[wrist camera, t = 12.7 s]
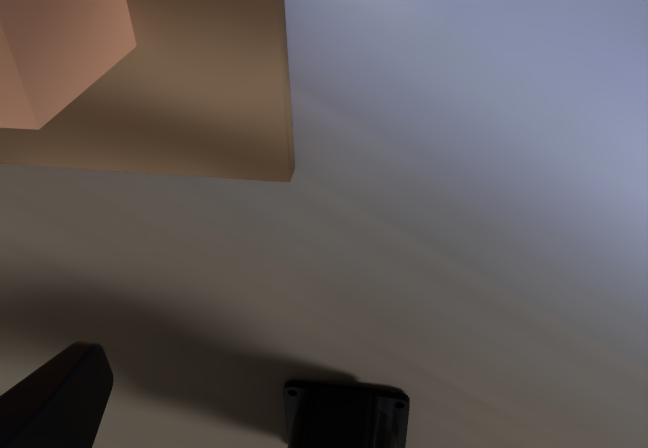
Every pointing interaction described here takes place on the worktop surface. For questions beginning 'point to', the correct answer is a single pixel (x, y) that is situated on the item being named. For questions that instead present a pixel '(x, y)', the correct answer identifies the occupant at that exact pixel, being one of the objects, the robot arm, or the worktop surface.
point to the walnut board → (180, 99)
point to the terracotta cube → (56, 54)
